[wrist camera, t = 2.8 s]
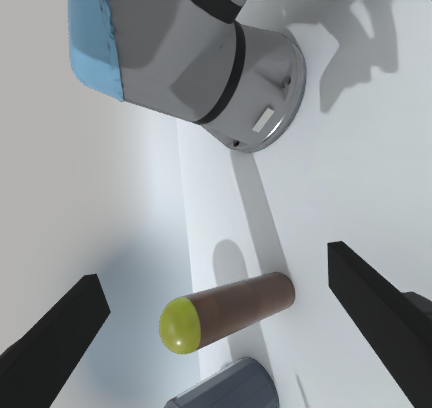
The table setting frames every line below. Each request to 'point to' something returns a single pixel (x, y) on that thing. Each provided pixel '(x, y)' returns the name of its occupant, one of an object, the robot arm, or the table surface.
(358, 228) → the table surface
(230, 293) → the peg
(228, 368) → the tube
